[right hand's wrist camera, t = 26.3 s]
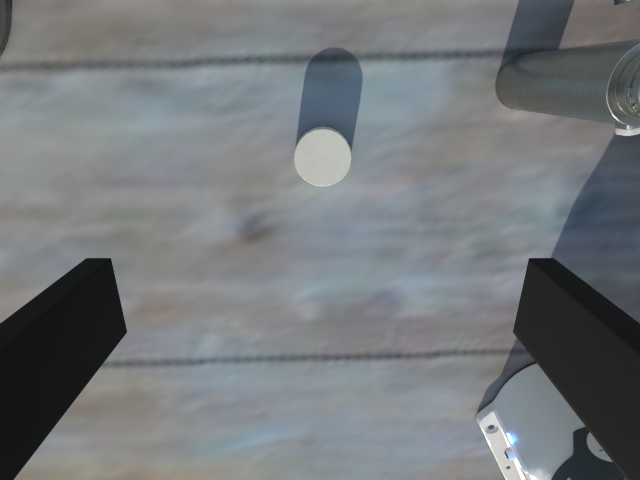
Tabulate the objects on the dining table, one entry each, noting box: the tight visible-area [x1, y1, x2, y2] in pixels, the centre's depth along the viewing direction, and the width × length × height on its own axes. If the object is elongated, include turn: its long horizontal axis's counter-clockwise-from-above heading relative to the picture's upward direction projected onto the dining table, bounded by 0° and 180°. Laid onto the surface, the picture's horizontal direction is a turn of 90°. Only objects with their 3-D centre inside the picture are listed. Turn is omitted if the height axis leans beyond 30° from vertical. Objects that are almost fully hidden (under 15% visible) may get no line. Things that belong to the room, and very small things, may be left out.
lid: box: [294, 126, 352, 186], centre depth 37 cm, size 5×5×2 cm
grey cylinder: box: [496, 39, 640, 127], centre depth 28 cm, size 5×5×17 cm
